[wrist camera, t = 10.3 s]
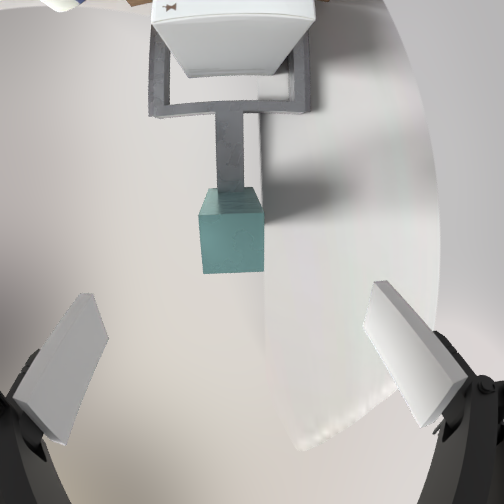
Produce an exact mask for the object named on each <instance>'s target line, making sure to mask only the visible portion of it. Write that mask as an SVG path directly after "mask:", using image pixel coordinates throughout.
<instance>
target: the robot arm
mask: <svg viewBox="0 0 504 504" xmlns="http://www.w3.org/2000/svg"><path fill="white" fill-rule="evenodd" d="M363 329H364V331H365V332H366V334H367V336H368V337H369V339H370V341H371V342H372V344H373V346H374V347H375V349H376V351H377V352H378V354H379V356H380V357H381V359H382V361H383V363H384V364H385V366H386V368H387V369H388V371H389V373H390V375H391V376H392V378H393V380H394V382H395V383H396V385H397V387H398V389H399V391H400V392H401V394H402V396H403V398H404V400H405V402H406V403H407V405H408V407H409V409H410V411H411V412H412V415H413V416H414V418H415V420H416V422H417V424H418V426H419V428H423V427H425V426H427V425H430V424H432V423H434V422H435V421H436V420H437V418H438V417H439V416H440V415H441V414H442V415H443V417H444V419H443V421H442V422H441V423H440V424H439V425H438V426H437V428H436V429H435V430H434V432H433V434H436V432H437V431H438V430H439V429H440V431H439V434H438V440H437V444H436V448H435V452H434V455H433V459H432V462H431V466H430V469H429V472H428V475H427V479H426V482H425V484H424V487H423V490H422V493H421V495H420V498H419V500H418V503H417V504H504V381H498V382H494V381H493V380H492V379H491V378H490V377H488V376H485V375H479V376H477V375H476V374H475V373H474V372H473V371H472V369H471V368H470V367H469V365H468V364H467V363H466V362H465V360H464V359H463V358H462V357H461V355H460V354H459V353H457V351H456V349H455V348H454V347H453V346H452V344H451V343H450V342H449V341H448V340H447V338H446V337H445V336H443V335H442V334H440V333H439V332H437V331H433V332H432V330H431V329H430V328H429V327H428V326H427V325H426V323H425V322H424V321H423V320H422V319H421V318H420V316H419V315H418V314H417V313H416V312H415V311H414V310H413V308H412V307H411V306H410V305H409V304H408V303H407V302H406V301H405V300H404V298H403V297H402V296H401V295H400V294H399V293H398V292H397V291H396V290H395V289H394V288H393V286H392V285H391V284H390V283H389V282H388V281H387V280H386V281H376V282H374V283H373V287H372V292H371V296H370V300H369V304H368V308H367V312H366V316H365V320H364V323H363ZM108 340H109V337H108V335H107V332H106V329H105V327H104V324H103V321H102V318H101V316H100V313H99V310H98V307H97V304H96V301H95V298H94V295H93V294H92V293H80V295H79V296H78V297H77V298H76V300H75V301H74V302H73V304H72V305H71V306H70V308H69V309H68V310H67V312H66V313H65V315H64V316H63V317H62V319H61V320H60V322H59V323H58V324H57V326H56V327H55V329H54V330H53V332H52V333H51V335H50V336H49V338H48V339H47V341H46V342H45V344H44V345H43V347H42V348H41V349H38V350H37V351H36V352H34V353H33V354H32V355H31V356H30V357H29V359H28V360H27V362H26V364H25V366H24V367H23V368H22V370H21V373H20V374H19V375H18V377H17V379H16V380H15V382H14V384H13V385H12V387H11V389H10V391H9V393H8V394H7V396H6V398H5V397H4V395H3V394H2V393H1V391H0V504H71V502H70V500H69V499H68V496H67V494H66V492H65V490H64V488H63V486H62V484H61V481H60V479H59V477H58V475H57V472H56V470H55V468H54V465H53V462H52V460H51V457H50V454H49V452H48V449H47V446H46V443H45V442H44V440H43V439H42V436H43V434H45V435H46V436H47V437H48V438H49V439H50V440H51V441H53V442H56V443H59V444H62V445H65V446H66V445H67V441H68V438H69V435H70V432H71V430H72V427H73V424H74V421H75V418H76V416H77V413H78V410H79V408H80V405H81V402H82V400H83V397H84V395H85V392H86V390H87V387H88V385H89V382H90V380H91V377H92V375H93V373H94V371H95V368H96V366H97V364H98V361H99V359H100V357H101V355H102V353H103V350H104V348H105V346H106V344H107V342H108Z"/></svg>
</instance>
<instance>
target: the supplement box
mask: <svg viewBox="0 0 504 504" xmlns="http://www.w3.org/2000/svg"><path fill="white" fill-rule="evenodd" d="M315 20H316V11H315V2H314V0H153V4H152V14H151V24H152V25H153V26H154V28H155V29H156V31H157V32H158V33H159V35H160V37H161V38H162V39H163V41H164V42H165V44H166V45H167V47H168V48H169V50H170V51H171V53H172V54H173V56H174V57H175V59H176V60H177V61H178V63H179V65H180V66H181V67H182V69H183V70H184V72H185V73H186V75H187V77H188V78H197V77H210V76H229V75H274V73H275V72H276V70H277V69H278V68H279V66H280V65H281V64H282V62H283V61H284V60H285V58H286V57H287V56H288V54H289V53H290V52H291V50H292V49H293V48H294V46H295V45H296V44H297V43H298V41H299V40H300V39H301V37H302V36H303V35H304V34H305V32H306V31H307V30H308V29H309V27H310V26H311V25H312V24H313V23H314V21H315Z"/></svg>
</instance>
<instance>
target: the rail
mask: <svg viewBox="0 0 504 504" xmlns="http://www.w3.org/2000/svg"><path fill="white" fill-rule="evenodd" d="M155 38H156V29H155V28H154V26H153V25H151V37H150V53H149V86H148V88H149V89H148V91H149V92H148V95H149V96H148V102H149V104H148V105H149V107H148V108H149V117H152V116H154V56H155ZM303 45H304V73H305V112H310V62H309V39H308V30H307V31H306V32H305V34H304V35H303Z"/></svg>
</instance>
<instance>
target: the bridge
mask: <svg viewBox="0 0 504 504" xmlns="http://www.w3.org/2000/svg"><path fill="white" fill-rule="evenodd" d="M126 1H127V2H128V3H129V4H130V5H131V7H132V6H137V5H141V4H145V3H150V2H153V0H126ZM319 1H325V2H329V1H330V0H319Z"/></svg>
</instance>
